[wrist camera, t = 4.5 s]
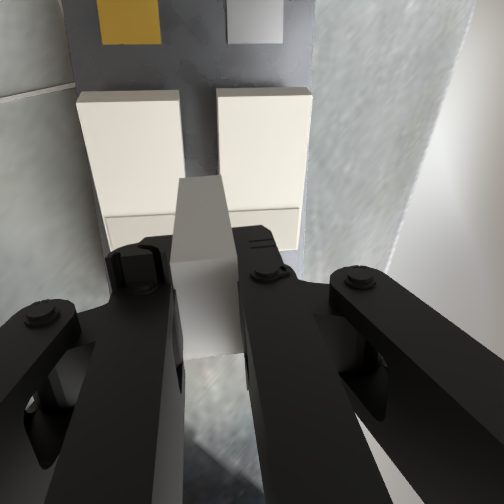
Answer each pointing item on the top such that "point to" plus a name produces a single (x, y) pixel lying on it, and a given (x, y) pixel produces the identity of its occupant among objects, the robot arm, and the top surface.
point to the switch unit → (192, 64)
